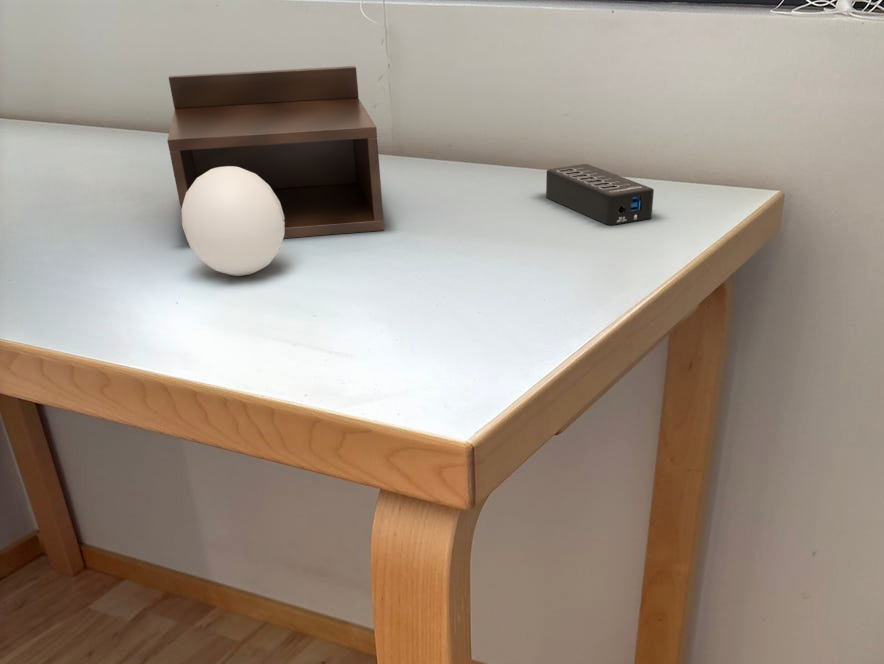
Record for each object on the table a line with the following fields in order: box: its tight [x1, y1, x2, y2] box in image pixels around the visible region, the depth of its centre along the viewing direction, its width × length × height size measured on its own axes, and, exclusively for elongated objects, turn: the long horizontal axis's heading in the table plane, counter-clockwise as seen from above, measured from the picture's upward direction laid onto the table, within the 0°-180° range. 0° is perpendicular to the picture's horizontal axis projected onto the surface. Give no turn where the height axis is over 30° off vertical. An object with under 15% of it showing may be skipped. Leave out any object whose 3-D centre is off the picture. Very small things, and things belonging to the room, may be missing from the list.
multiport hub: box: [545, 163, 655, 226], centre depth 86 cm, size 4×11×2 cm, turn 27°
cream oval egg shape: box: [181, 166, 286, 277], centre depth 73 cm, size 10×7×7 cm
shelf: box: [166, 65, 385, 247], centre depth 83 cm, size 16×14×10 cm
